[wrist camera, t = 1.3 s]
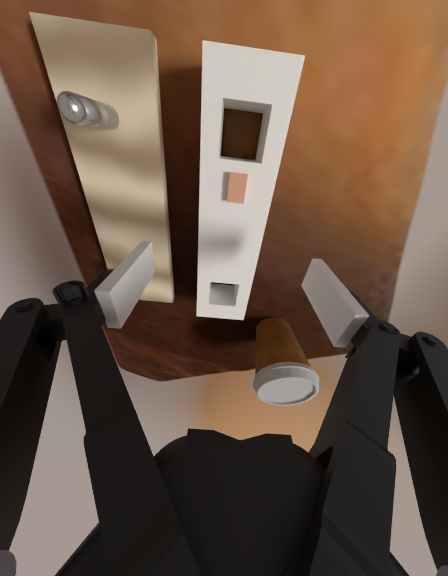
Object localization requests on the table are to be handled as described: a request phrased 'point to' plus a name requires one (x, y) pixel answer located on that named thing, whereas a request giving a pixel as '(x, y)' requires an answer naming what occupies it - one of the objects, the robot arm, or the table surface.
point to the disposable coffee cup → (282, 366)
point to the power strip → (238, 169)
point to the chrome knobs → (87, 111)
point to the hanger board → (116, 135)
